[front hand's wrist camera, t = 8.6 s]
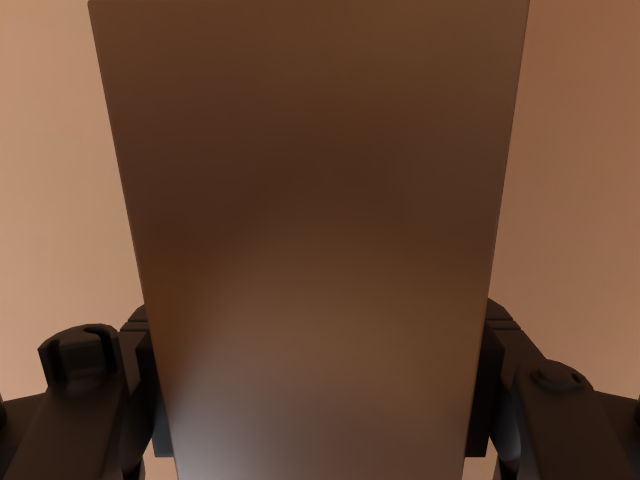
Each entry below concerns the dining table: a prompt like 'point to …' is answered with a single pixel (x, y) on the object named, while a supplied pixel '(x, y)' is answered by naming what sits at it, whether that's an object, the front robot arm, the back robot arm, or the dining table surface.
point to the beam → (313, 222)
